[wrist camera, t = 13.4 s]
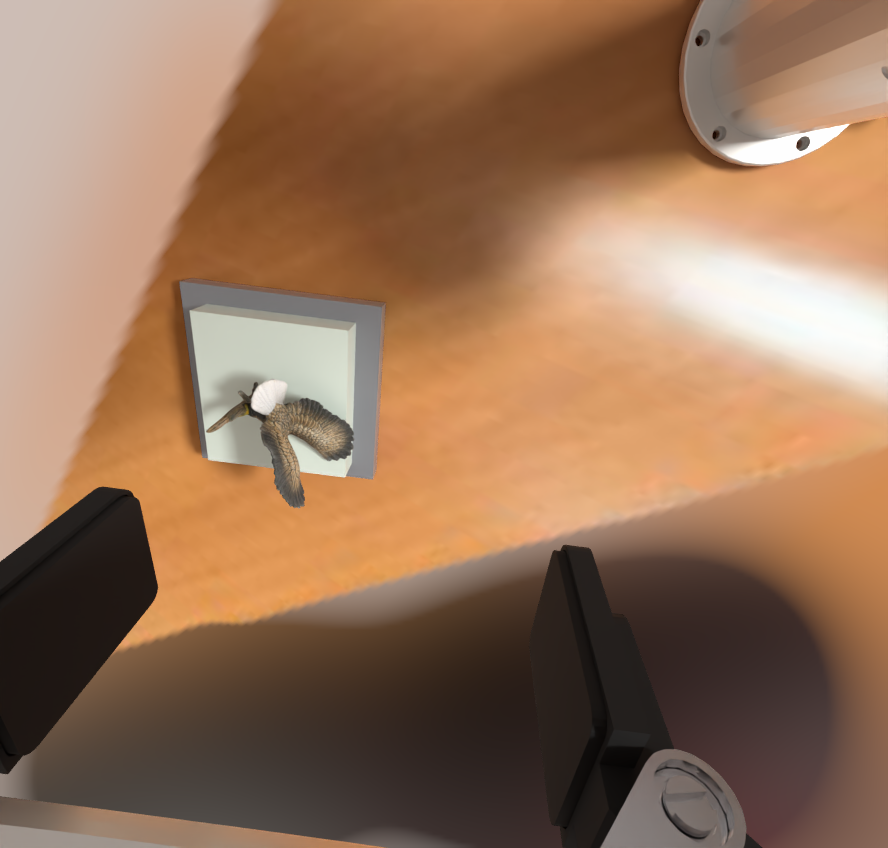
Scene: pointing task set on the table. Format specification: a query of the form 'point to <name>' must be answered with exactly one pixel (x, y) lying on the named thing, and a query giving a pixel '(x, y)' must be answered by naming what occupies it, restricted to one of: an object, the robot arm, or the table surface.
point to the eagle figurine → (291, 432)
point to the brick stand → (284, 367)
